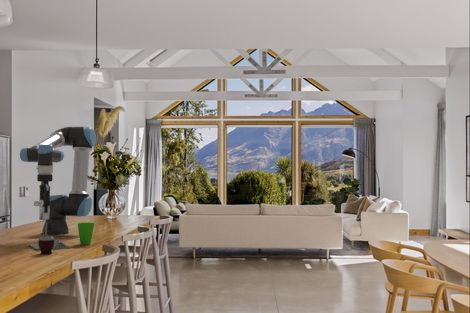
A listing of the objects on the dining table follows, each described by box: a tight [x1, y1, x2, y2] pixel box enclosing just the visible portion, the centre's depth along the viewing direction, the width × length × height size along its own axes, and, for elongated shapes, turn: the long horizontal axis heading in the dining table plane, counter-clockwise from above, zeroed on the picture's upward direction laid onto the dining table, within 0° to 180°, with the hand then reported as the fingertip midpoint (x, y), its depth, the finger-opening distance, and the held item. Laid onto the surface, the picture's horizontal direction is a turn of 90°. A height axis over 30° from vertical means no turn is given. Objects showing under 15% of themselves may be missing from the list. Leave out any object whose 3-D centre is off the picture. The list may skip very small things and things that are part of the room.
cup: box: [76, 221, 95, 245], centre depth 283 cm, size 9×9×11 cm
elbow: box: [33, 199, 50, 221], centre depth 281 cm, size 8×5×10 cm, turn 121°
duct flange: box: [28, 239, 70, 251], centre depth 270 cm, size 16×16×3 cm
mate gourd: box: [37, 223, 55, 255], centre depth 251 cm, size 8×8×15 cm
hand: (44, 218), depth 282 cm, fingers closed on elbow, 5 cm apart
